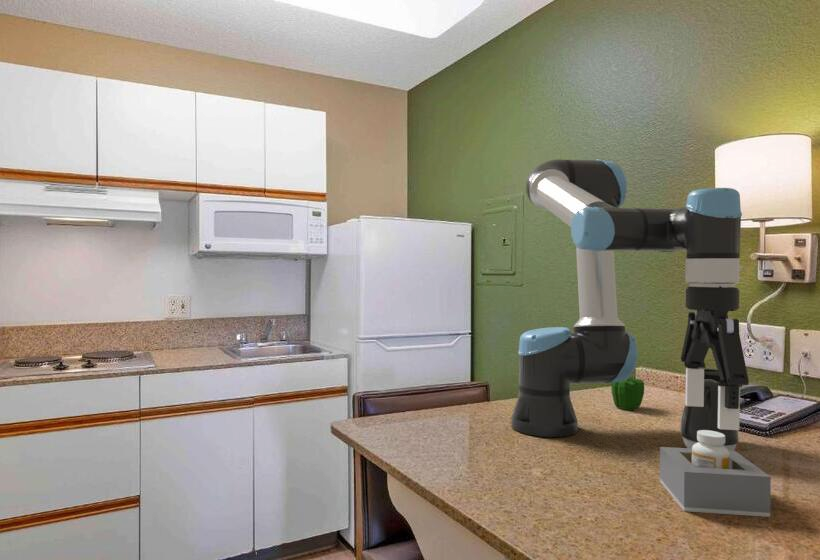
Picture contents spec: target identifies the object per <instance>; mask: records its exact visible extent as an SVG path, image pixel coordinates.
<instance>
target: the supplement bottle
mask: <svg viewBox="0 0 820 560" xmlns="http://www.w3.org/2000/svg"><path fill="white" fill-rule="evenodd" d="M697 440H698V441H699V442H698V443H695V444H694V445H693V446H692V463H691V464H692V465H694V466H695V467H700V468H718V469H729V456H730V454H729V451H728V450H727V449H726V448H725V447H724V446H723V445H724V444H725V435H724V434H722V433H719V432H716V431H710V430H699V431H697Z"/></svg>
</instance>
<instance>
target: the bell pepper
mask: <svg viewBox="0 0 820 560" xmlns="http://www.w3.org/2000/svg"><path fill="white" fill-rule="evenodd" d="M611 395H612V400H613V403H614V405H615V407H616V408H619V409H623V410H626V411H636V410H638V409H639V408H640V406H641V405H642V403H643V398H644V395H645V385H644V381H643V380H642V379H638V378H637V379H636V378H633V377H629V378H628V379H626V380H625V381H621V382H612V383H611Z"/></svg>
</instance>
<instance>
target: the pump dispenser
mask: <svg viewBox="0 0 820 560" xmlns="http://www.w3.org/2000/svg"><path fill="white" fill-rule="evenodd" d="M680 422H681V423H680V431H679V432H680V435H681V438H682V441H683V443H684V445H685V448H692V446H693V445H694V444H695V443H698V442H699V441H698V440H697V431H699V430H710V431H716V432H719V433H722V434H724V435H725V444H724V445H723V446H724V447H725V448H726V449H727V450H733V451H736V450H735V449H736V447H737V445H738V443H739V441H740V437H739V436H740V435H739V430H725V429H719V428H718V386H717V381H714V380H711V379H705V380H704V407H696V406H686V405H685V404H684V407H683V410H682V416H681V421H680Z"/></svg>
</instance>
